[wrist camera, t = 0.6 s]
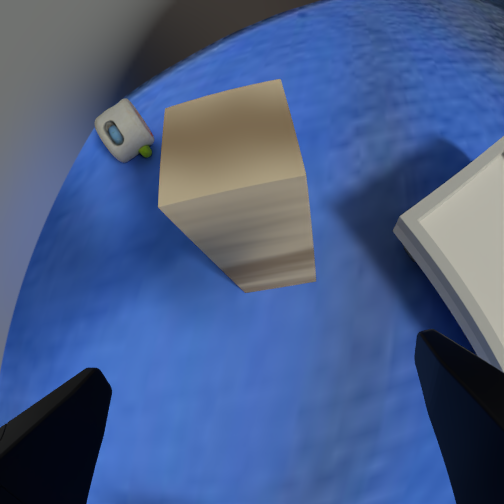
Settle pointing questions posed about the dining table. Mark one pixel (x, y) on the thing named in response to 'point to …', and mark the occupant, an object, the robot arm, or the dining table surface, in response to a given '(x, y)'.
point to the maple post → (240, 185)
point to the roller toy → (124, 132)
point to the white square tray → (465, 249)
